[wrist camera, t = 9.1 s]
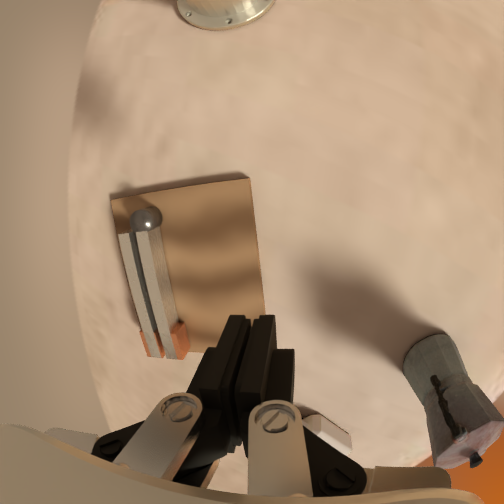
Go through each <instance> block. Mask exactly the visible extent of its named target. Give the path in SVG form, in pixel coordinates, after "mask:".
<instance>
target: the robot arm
mask: <svg viewBox="0 0 504 504" xmlns="http://www.w3.org/2000/svg"><path fill="white" fill-rule="evenodd" d="M274 2H275V0H268V1H267V0H177V6H178V10H179V12H180V14H181V15H182V16H183V18H184V19H185V20H186V21H188V22H189V23H190V24H192V25H194V26H196V27H198V28H202V29H205V30H228V29H234V28H238V27H241V26H244V25H246V24H249V23H251V22H253V21H255V20H256V19H258V18H260V17H261V16H262V15H264V14H265V13H266V12H267V11H268V10H269V9H270V8H271V6H272V5H273V4H274ZM229 23H230V24H229ZM294 371H295V354H294V349H277V340H276V322H275V315H260V316H259V319H254V321H253V324H252V326H251V319H246V316H245V315H230V316H229V318H228V320H227V322H226V325H225V327H224V330H223V332H222V334H221V337H220V339H219V341H218V344H217V346H216V347H208V348H207V349H206V351H205V353H204V355H203V358H202V360H201V362H200V364H199V366H198V368H197V370H196V373H195V375H194V377H193V379H192V381H191V383H190V385H189V388H188V390H187V392H186V393H183V392H182V393H174V394H171V395H168V396H167V397H165V398H163V399H162V400H161V401H160V402H159V403H158V405H157V406H156V407H155V408H154V410H153V411H152V412H151V414H150V415H149V416H148V418H147V419H146V420H144V421H142V422H139V423H136V424H134V425H131V426H128V427H126V428H123V429H120V430H117V431H115V432H112V433H109V434H106V435H104V436H102V437H101V438H100V437H99V436H98V435H97V434H89V433H83V432H77V431H72V430H66V429H61V428H52V429H48V430H47V431H46V432H41V431H38V430H36V429H33V428H30V427H26V426H22V425H16V424H0V504H484V503H483V501H482V500H481V499H480V498H479V497H478V496H477V495H475V494H473V493H470V492H468V491H462V490H458V489H451V478H450V475H449V474H448V473H447V471H446V470H444V469H442V468H440V467H382V466H375V468H374V469H370V468H362V467H361V466H360V465H359V464H358V463H356V462H355V461H353V460H352V459H350V458H349V457H347V456H346V455H344V454H343V453H341V452H340V451H338V450H337V449H335V448H334V447H332V446H331V445H330V444H328V443H327V442H325V441H324V440H323V439H321V438H320V437H318V436H317V435H316V434H314V433H313V432H312V431H310V430H309V429H308V428H306V427H305V426H304V425H302V418H301V414H300V411H299V409H298V408H297V407H296V406H295V405H293V393H294ZM242 441H243V446H244V450H245V455H246V457H247V458H248V495H246V494H237V493H229V492H222V491H216V490H210V489H207V487H208V485H209V483H210V481H211V479H212V477H213V475H214V473H215V471H216V469H217V467H218V465H219V462H220V458H222V457H223V456H225V455H227V453H234V451H235V447H236V446H241V444H242Z"/></svg>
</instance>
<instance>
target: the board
mask: <svg viewBox="0 0 504 504" xmlns="http://www.w3.org/2000/svg"><path fill="white" fill-rule="evenodd" d="M111 204H112V210H113V216H114V221H115V227H116V232H117V237H118V234H120V233H122V232H125V231H127V230H129V229H131V227H130V216H131V215H132V213H133V212H135V211H137V210H140V209H143V208H146V207H149V206H154V207H157V208H158V209H159V210H160V211H161V213H162V217H163V220H162V224H161V225H160V232H161V238H162V243H163V249H164V254H165V259H166V265H167V270H168V275H169V279H170V284H171V289H172V294H173V298H174V302H175V307H176V311H177V315H178V320H179V322H185V326H186V330H187V335H188V339H189V343H190V349H189V351H188V352H200V353H205V351H206V349H207V348H208V347H216V346H217V344H218V341H219V339H220V337H221V334H222V332H223V330H224V327H225V325H226V322H227V320H228V318H229V316H230V315H245V316H246V319H251V326H252V324H253V321H254V319H259V316H260V315H266V314H265V305H264V296H263V287H262V278H261V269H260V260H259V252H258V243H257V234H256V225H255V217H254V208H253V199H252V191H251V182H250V178H246V179H237V180H229V181H221V182H214V183H206V184H199V185H193V186H186V187H180V188H173V189H167V190H161V191H156V192H150V193H144V194H139V195H134V196H128V197H123V198H118V199H114V200H111ZM118 242H119V237H118ZM119 246H120V242H119ZM120 251H121V247H120ZM121 255H122V251H121ZM122 260H123V256H122ZM123 264H124V260H123ZM124 268H125V264H124ZM125 272H126V269H125ZM126 277H127V273H126ZM127 280H128V277H127ZM128 284H129V281H128ZM129 288H130V285H129ZM130 292H131V289H130ZM131 296H132V292H131ZM132 299H133V296H132ZM133 303H134V300H133ZM134 306H135V303H134ZM135 310H136V307H135ZM136 313H137V310H136ZM137 317H138V314H137ZM138 320H139V317H138ZM139 323H140V320H139ZM140 327H141V324H140ZM141 330H142V327H141Z"/></svg>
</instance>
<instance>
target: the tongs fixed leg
mask: <svg viewBox="0 0 504 504" xmlns="http://www.w3.org/2000/svg"><path fill="white" fill-rule="evenodd" d="M118 237H119V242H120V247H121V251H122V256H123V260H124V264H125V269H126V273H127V277H128V281H129V285H130V289H131V292H132V296H133V300H134V303H135V307H136V310H137V314H138V317H139V320H140V324H141V327H142V330H141V331H140V335H141V338H142V341H143V344H144V347H145V350H146V353H147V356H148V357H157V358H163V357H164V355H165V351H164V348H163V344H162V341H161V338H160V334H159V331H158V327H157V324H156V320H155V316H154V312H153V309H152V305H151V301H150V297H149V293H148V289H147V284H146V280H145V276H144V271H143V267H142V262H141V257H140V252H139V247H138V242H137V237H136V233H135V232H134V231H133V230H132V229H129V230H127V231H125V232H122V233H120V234H118Z"/></svg>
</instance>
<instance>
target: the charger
mask: <svg viewBox="0 0 504 504" xmlns="http://www.w3.org/2000/svg"><path fill="white" fill-rule="evenodd" d="M302 425H304V426H305V427H306V428H308V429H309V430H310V431H312V432H313V433H314V434H316V435H317V436H318V437H320V438H321V439H323V440H324V441H325V442H327V443H328V444H330V445H331V446H332V447H334V448H335V449H337V450H338V451H340V452H341V453H343V454H344V455H346V456H347V455H348V454H350V453H351V451H352V442H351V436H350V435H349V434H347V433H346V432H345V431H343V430H342V429H340V428H339V427H337V426H336V425H334V424H333V423H332V422H330V421H329V420H327V419H326V418H325V417H323V416H322V415H320V414H317V415H310V416H308V417H306V418H304V419H302Z"/></svg>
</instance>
